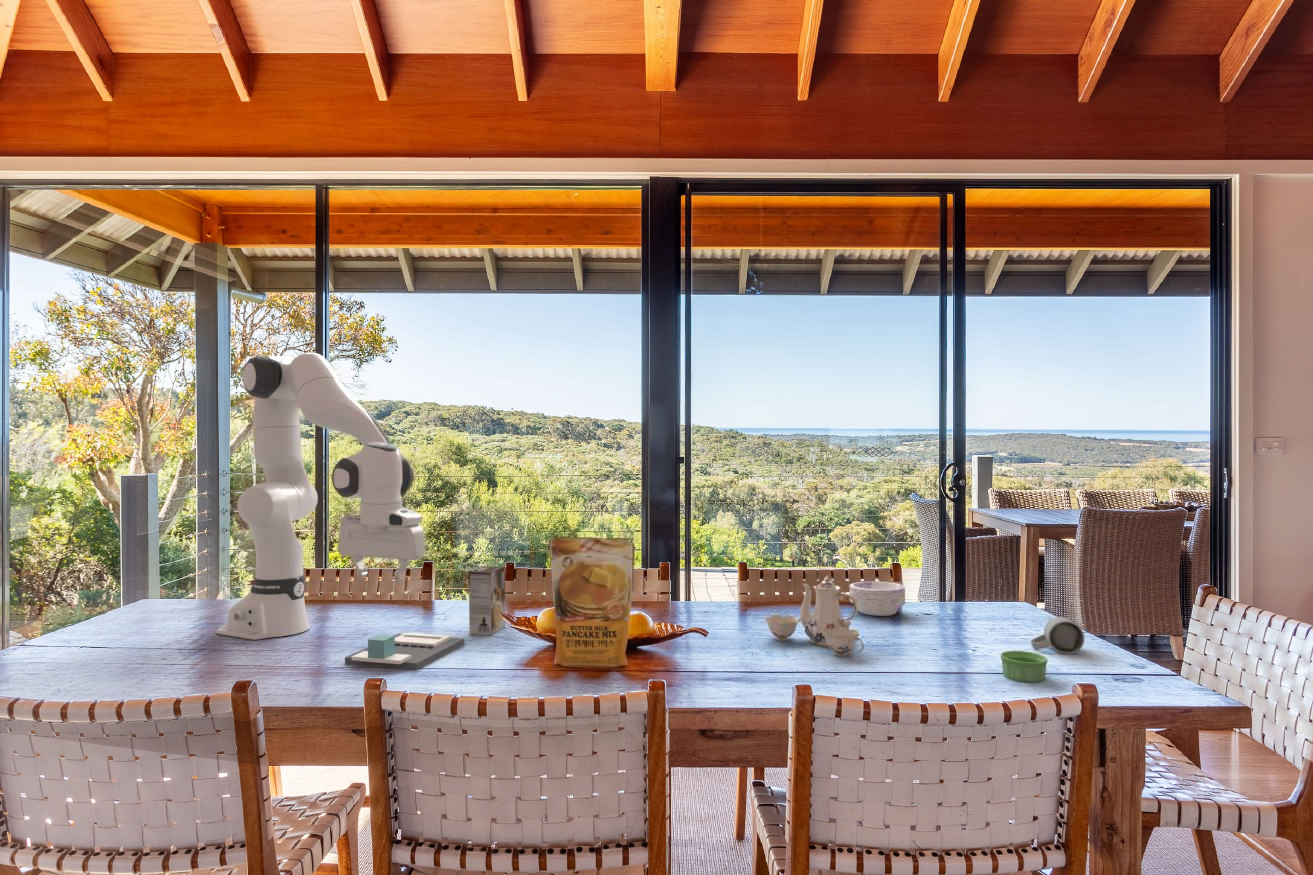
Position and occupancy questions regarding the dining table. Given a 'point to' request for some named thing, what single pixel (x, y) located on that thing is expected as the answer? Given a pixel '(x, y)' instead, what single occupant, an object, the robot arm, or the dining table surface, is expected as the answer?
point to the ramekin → (1024, 666)
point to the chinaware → (820, 620)
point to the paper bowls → (878, 597)
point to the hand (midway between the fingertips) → (380, 577)
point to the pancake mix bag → (591, 600)
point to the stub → (381, 651)
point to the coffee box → (486, 600)
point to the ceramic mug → (1060, 636)
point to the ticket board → (416, 650)
